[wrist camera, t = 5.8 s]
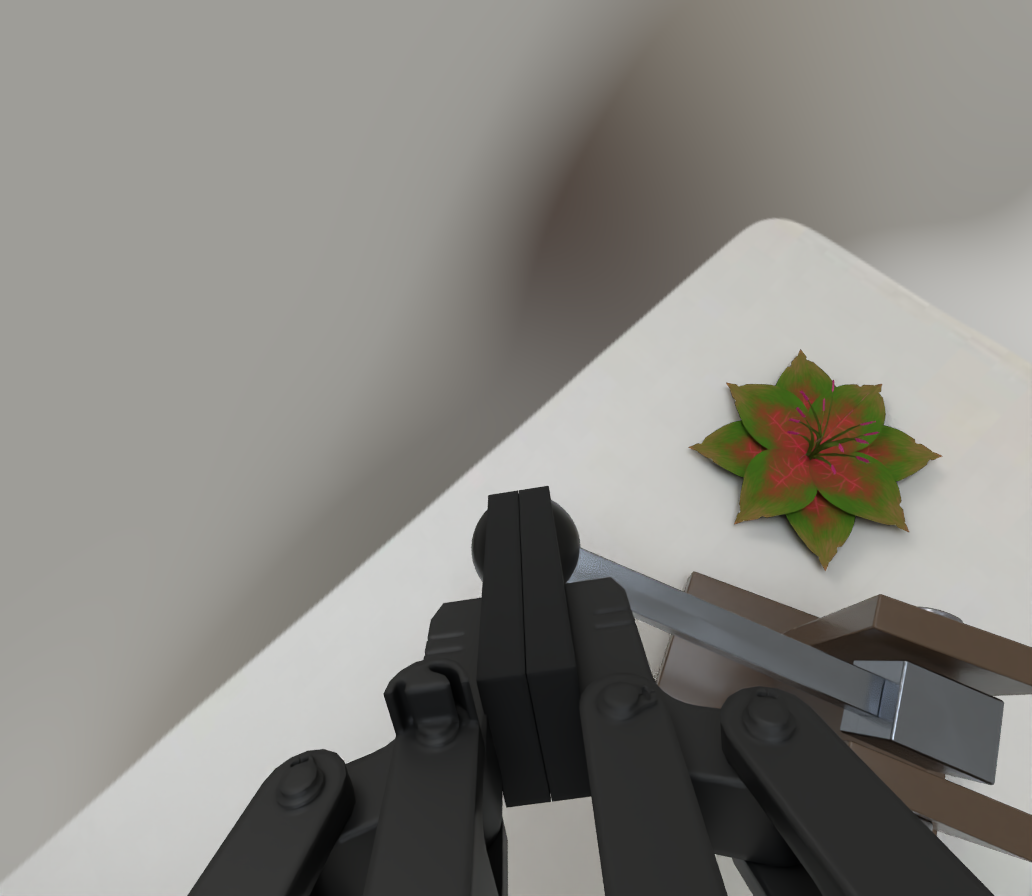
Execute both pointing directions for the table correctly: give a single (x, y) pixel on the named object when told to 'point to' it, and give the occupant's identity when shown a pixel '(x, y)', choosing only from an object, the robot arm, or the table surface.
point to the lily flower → (815, 455)
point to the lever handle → (812, 669)
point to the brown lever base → (873, 636)
